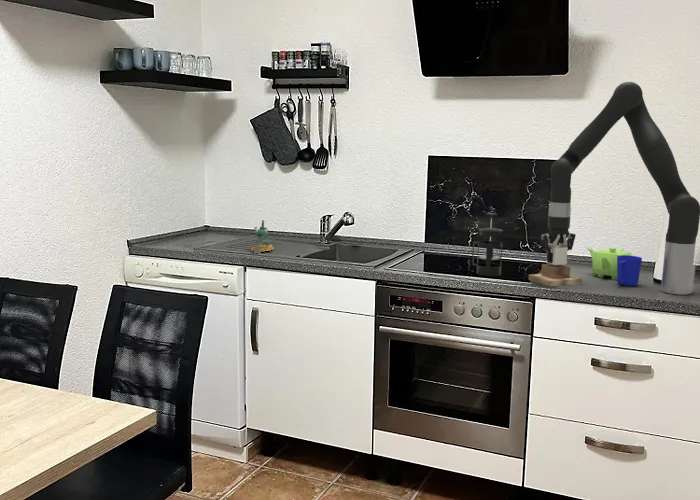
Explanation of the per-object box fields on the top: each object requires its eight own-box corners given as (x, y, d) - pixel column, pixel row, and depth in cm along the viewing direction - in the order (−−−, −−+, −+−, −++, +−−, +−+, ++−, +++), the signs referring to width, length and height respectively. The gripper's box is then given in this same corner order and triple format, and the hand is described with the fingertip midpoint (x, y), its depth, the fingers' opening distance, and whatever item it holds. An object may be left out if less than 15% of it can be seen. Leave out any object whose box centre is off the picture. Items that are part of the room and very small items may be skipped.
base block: (556, 274, 255) (557, 263, 254) (569, 278, 248) (570, 266, 248) (541, 275, 252) (541, 264, 252) (553, 279, 246) (554, 267, 245)
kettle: (584, 273, 269) (586, 244, 267) (620, 273, 269) (622, 245, 268) (599, 281, 254) (602, 250, 252) (637, 281, 255) (640, 251, 253)
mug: (606, 285, 246) (608, 257, 244) (621, 281, 254) (623, 254, 253) (628, 289, 240) (631, 261, 239) (643, 285, 249) (646, 257, 247)
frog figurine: (283, 249, 312) (281, 217, 309) (262, 259, 297) (261, 226, 293) (264, 247, 316) (263, 215, 312) (243, 257, 300) (241, 224, 296)
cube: (557, 261, 253) (558, 245, 252) (566, 264, 248) (567, 247, 247) (546, 262, 251) (547, 246, 250) (554, 264, 246) (555, 248, 245)
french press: (503, 272, 267) (507, 212, 264) (502, 276, 258) (505, 215, 255) (473, 270, 270) (475, 211, 267) (470, 274, 262) (473, 213, 258)
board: (560, 277, 259) (560, 272, 258) (581, 284, 248) (582, 278, 247) (528, 279, 254) (528, 274, 253) (549, 286, 243) (549, 281, 242)
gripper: (549, 216, 241) (546, 265, 243) (582, 215, 246) (579, 263, 249) (536, 214, 248) (533, 261, 250) (569, 213, 253) (565, 259, 255)
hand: (556, 262), depth 249 cm, fingers closed on cube, 5 cm apart
